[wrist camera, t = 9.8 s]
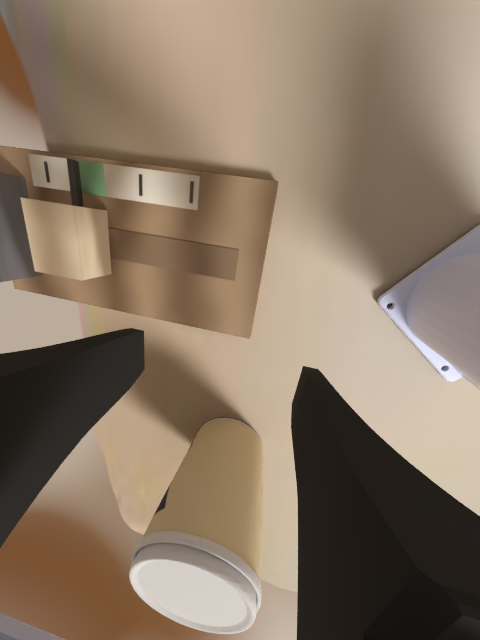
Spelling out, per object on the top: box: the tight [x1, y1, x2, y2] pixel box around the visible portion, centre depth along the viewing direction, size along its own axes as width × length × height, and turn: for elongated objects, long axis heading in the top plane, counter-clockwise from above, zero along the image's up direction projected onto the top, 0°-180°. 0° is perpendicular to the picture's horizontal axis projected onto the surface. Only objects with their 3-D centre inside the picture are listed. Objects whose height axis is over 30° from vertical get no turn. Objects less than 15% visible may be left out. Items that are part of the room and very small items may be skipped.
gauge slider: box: [20, 158, 112, 281], centre depth 17 cm, size 4×8×3 cm, turn 172°
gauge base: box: [0, 146, 278, 339], centre depth 17 cm, size 24×12×5 cm, turn 82°
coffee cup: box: [129, 418, 263, 634], centre depth 20 cm, size 9×9×12 cm
